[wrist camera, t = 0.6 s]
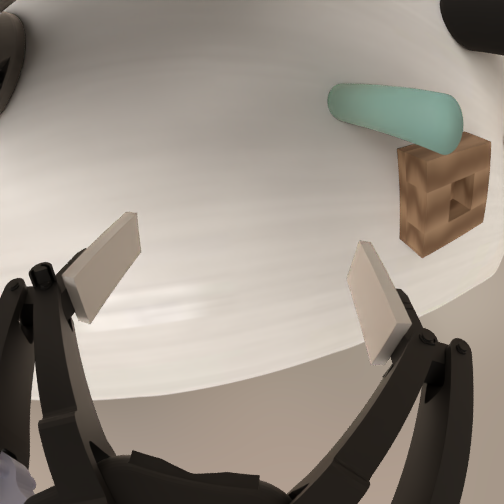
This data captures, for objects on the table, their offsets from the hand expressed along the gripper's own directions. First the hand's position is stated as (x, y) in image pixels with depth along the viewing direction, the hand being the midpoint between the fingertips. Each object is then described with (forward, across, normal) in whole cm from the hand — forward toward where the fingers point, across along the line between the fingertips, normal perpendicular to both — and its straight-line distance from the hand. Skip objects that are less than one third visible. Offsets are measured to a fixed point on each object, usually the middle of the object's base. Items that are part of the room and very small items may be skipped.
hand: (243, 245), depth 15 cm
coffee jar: (+23, +26, +31) cm, 46 cm away
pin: (+16, +8, +9) cm, 21 cm away
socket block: (+22, +26, +2) cm, 34 cm away
